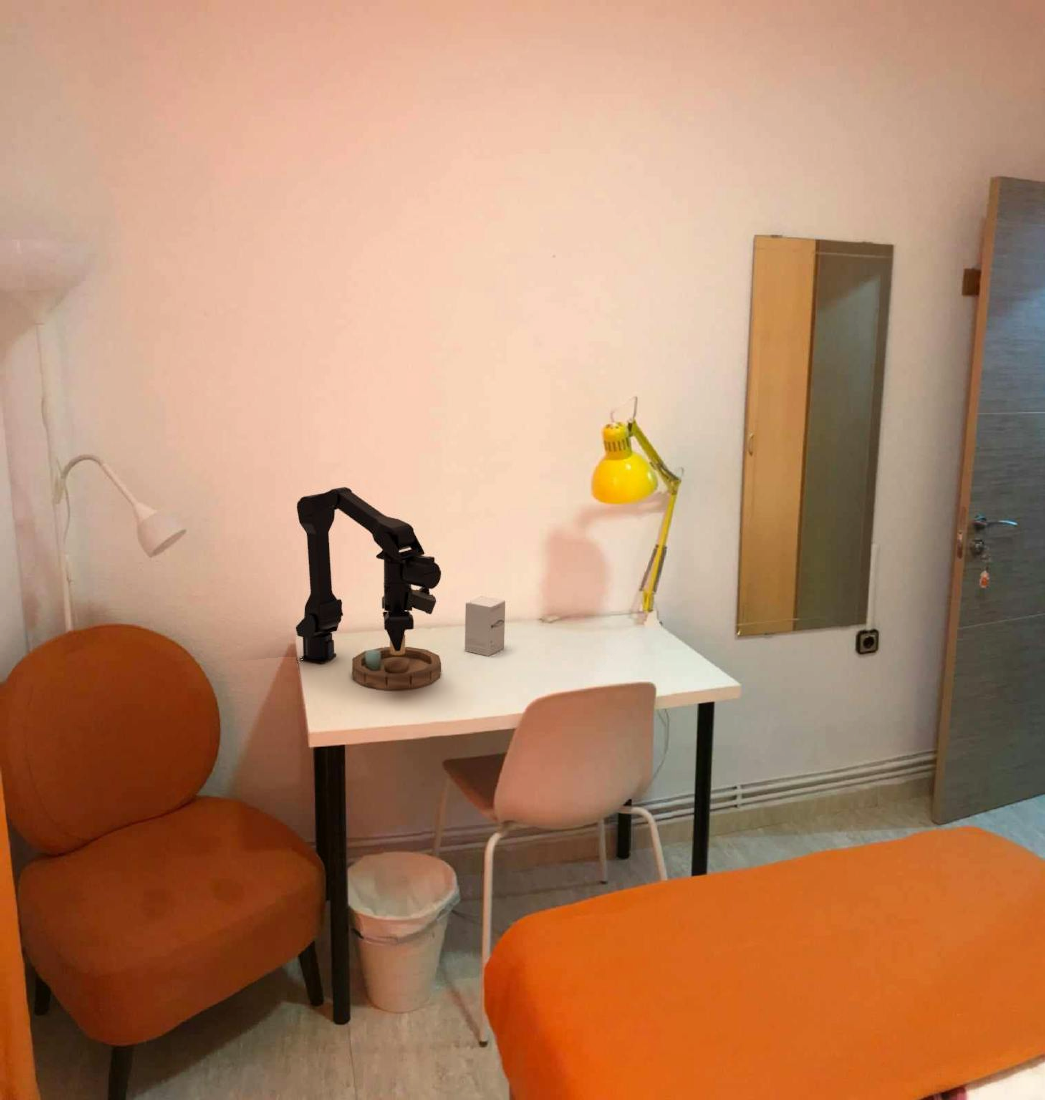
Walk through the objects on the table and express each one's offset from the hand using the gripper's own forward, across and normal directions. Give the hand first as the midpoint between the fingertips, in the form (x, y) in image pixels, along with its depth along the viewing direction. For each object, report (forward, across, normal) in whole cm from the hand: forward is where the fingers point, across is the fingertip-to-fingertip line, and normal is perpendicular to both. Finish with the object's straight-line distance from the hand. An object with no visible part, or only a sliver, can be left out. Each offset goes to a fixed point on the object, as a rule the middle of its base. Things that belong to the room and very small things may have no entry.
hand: (397, 648), depth 221 cm
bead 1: (+7, +6, +5) cm, 11 cm away
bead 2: (+1, 0, 0) cm, 1 cm away
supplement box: (+8, +20, -22) cm, 31 cm away
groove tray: (+8, +5, 0) cm, 10 cm away
